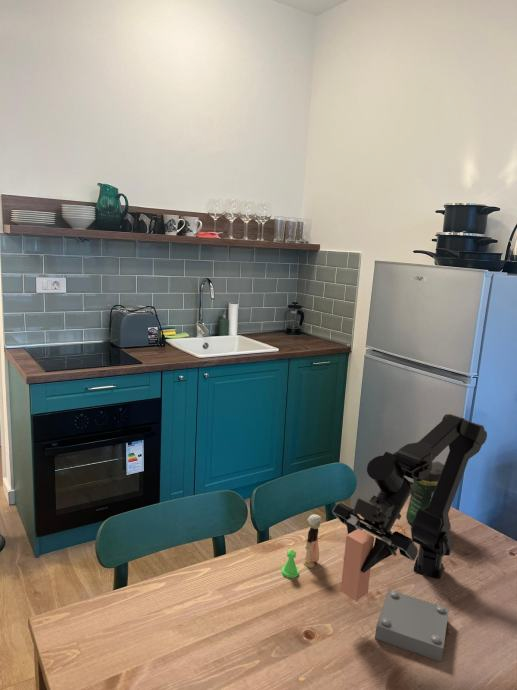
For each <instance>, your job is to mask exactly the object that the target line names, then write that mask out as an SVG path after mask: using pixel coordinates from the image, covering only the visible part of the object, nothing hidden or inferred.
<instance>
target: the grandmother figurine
mask: <svg viewBox="0 0 517 690" xmlns="http://www.w3.org/2000/svg"><path fill="white" fill-rule="evenodd" d="M306 520H307V522H308V524H309V527H310V528H309V530H308V533H307V539H306V545H305V550H306V553H305V559H304V562H303V565H304V566H306V567H308V568H310V569H312V568H313V569H314V567H315V563H317V562H319V560H320V548H319V539H318V538H319V537H318V536H319V528H320V526H321V521H322V517H321V516H320V515H318V514H310V516H309V517H308V518H307V519H306Z"/></svg>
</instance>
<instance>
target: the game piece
mask: <svg viewBox="0 0 517 690" xmlns="http://www.w3.org/2000/svg"><path fill="white" fill-rule="evenodd" d="M286 557H287V558H288V559H287V560H286V562H285V564H284V565H283V566H281V568H280V569H281V575H283V576H284V577H286V578H290V579H295V578H296V577H297V576H299V574H300V572H299V567H297V565H296V562H295V559H297V558H296V557H297V551H295V550H293V549H289V550H287V552H286Z"/></svg>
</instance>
